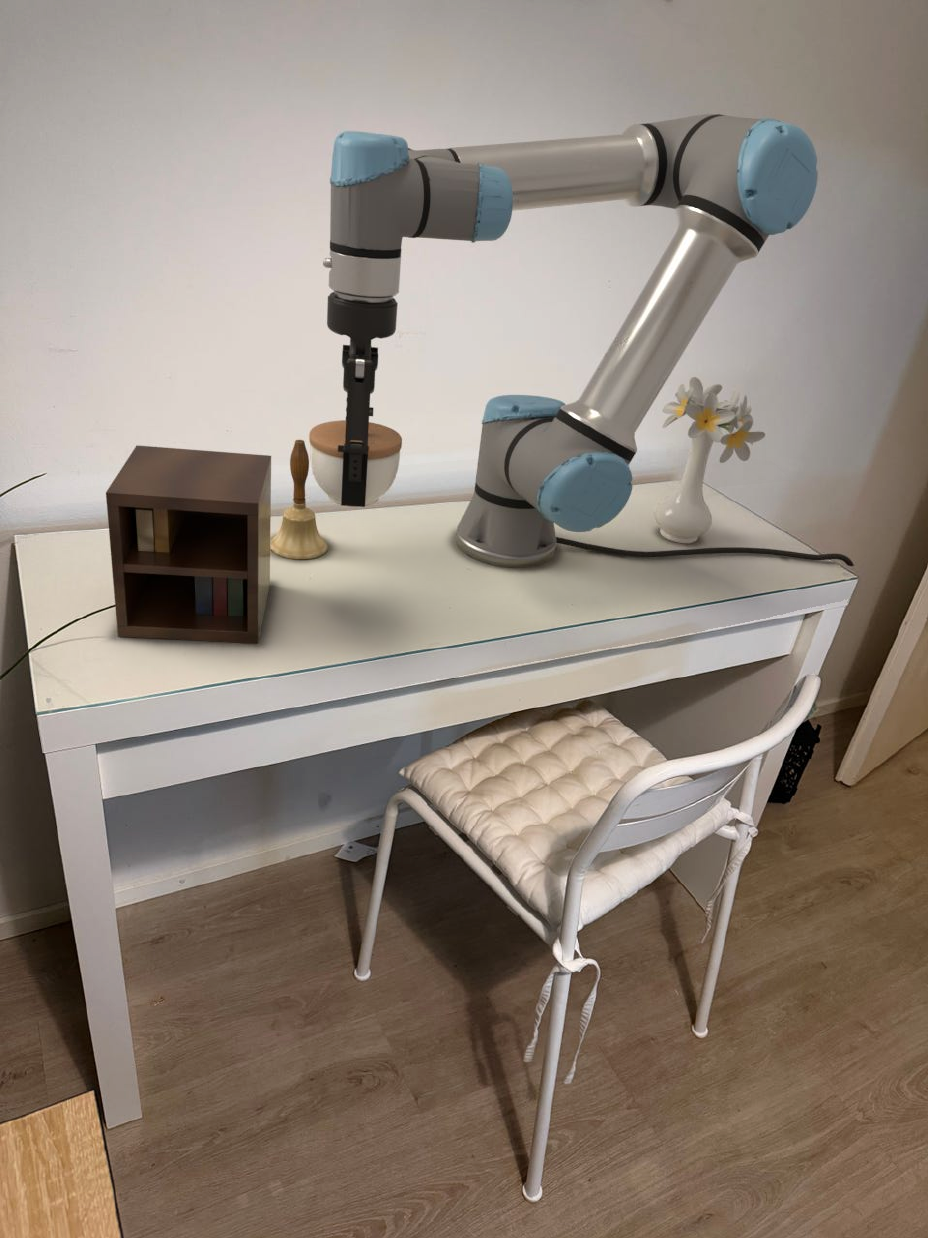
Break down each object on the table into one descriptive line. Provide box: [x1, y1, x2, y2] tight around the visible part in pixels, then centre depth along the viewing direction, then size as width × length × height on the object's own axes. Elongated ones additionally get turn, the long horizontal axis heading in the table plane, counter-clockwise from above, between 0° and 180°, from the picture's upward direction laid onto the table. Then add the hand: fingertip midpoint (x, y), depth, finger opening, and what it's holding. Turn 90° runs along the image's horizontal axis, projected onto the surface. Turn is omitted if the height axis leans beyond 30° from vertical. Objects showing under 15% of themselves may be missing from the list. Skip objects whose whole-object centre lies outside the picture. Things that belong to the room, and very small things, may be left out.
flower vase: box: [654, 376, 766, 544], centre depth 146 cm, size 13×18×25 cm
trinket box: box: [308, 419, 403, 508], centre depth 108 cm, size 11×11×9 cm
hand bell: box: [270, 439, 329, 560], centre depth 128 cm, size 8×8×16 cm
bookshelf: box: [105, 444, 272, 644], centre depth 109 cm, size 16×15×18 cm
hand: (353, 485), depth 109 cm, fingers closed on trinket box, 11 cm apart
